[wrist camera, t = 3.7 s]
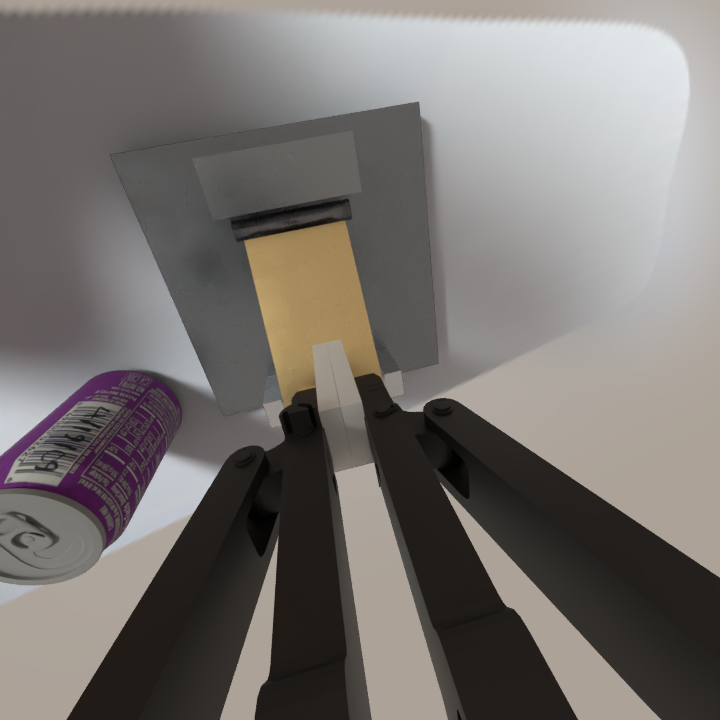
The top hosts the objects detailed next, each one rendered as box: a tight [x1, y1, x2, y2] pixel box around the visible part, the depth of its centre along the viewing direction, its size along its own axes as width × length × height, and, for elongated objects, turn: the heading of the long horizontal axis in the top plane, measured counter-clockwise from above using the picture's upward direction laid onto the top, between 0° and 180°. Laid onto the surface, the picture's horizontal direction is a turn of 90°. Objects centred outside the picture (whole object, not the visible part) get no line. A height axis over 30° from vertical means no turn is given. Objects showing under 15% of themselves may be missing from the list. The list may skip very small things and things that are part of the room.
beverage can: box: [0, 370, 182, 585], centre depth 21 cm, size 7×7×12 cm
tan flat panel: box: [231, 198, 384, 408], centre depth 19 cm, size 7×13×2 cm, turn 10°
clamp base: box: [110, 102, 439, 428], centre depth 22 cm, size 18×18×6 cm
